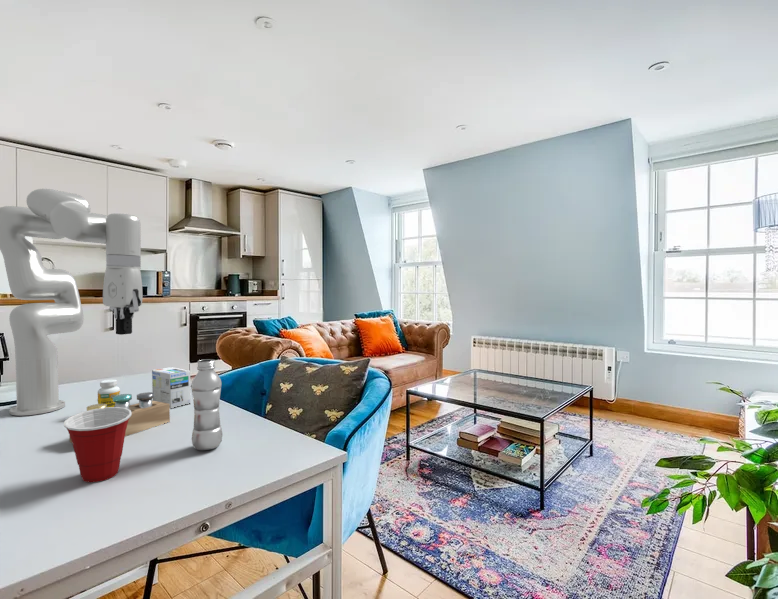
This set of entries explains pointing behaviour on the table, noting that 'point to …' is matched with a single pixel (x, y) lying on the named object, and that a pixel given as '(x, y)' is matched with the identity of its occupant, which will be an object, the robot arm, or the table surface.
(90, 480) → the plastic cup
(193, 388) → the plastic bottle
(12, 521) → the table surface
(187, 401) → the light bulb box
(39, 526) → the table surface
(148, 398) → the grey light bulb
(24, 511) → the table surface
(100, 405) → the plug brass
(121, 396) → the plug teal
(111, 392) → the supplement bottle
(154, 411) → the oak block
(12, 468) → the table surface
